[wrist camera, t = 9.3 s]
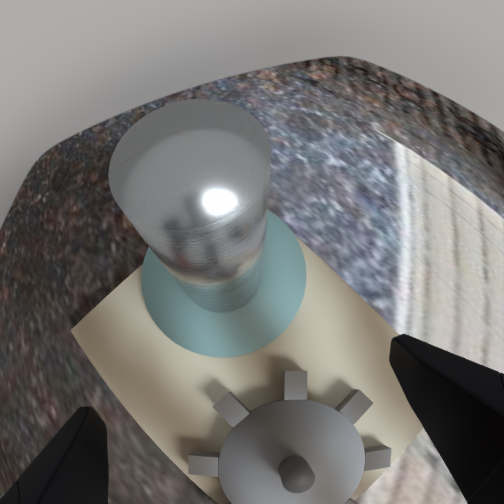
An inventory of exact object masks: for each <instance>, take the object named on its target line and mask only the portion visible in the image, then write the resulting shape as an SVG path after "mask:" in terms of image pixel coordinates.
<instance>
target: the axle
mask: <svg viewBox="0 0 504 504" xmlns="http://www.w3.org/2000/svg"><path fill="white" fill-rule="evenodd" d="M270 168H271V147H270V141H269V139H268V136H267V133H266V132H265V130H264V128H263V127H262V125H261V124H260V123H259V121H258V120H257V119H255V118H254V117H253V116H252V115H251V114H250V113H248V112H247V111H245V110H244V109H242V108H240V107H238V106H235V105H233V104H230V103H227V102H223V101H218V100H212V99H192V100H184V101H180V102H175V103H172V104H169V105H166V106H163V107H161V108H159V109H156V110H155V111H153V112H151V113H149V114H147V115H146V116H144V117H143V118H141V119H140V120H139V121H138V122H136V123H135V124H134V125H133V126H132V127H131V128H130V129H129V130H128V131H127V132H126V133H125V134H124V136H123V137H122V138H121V140H120V141H119V143H118V144H117V146H116V148H115V150H114V152H113V154H112V157H111V161H110V165H109V175H108V179H109V186H110V190H111V193H112V195H113V197H114V199H115V201H116V203H117V204H118V206H119V207H120V208H121V210H122V211H123V213H124V214H125V215H126V217H127V218H128V219H129V221H130V222H131V223H132V225H133V226H134V227H135V229H136V230H137V231H138V233H139V234H140V235H141V237H142V238H143V239H144V241H145V242H146V243H147V245H148V246H149V247H150V249H151V250H152V251H153V253H154V254H155V255H156V256H157V258H158V259H159V260H160V262H161V263H162V264H163V265H164V267H165V268H166V269H167V270H168V272H169V273H170V274H171V275H172V277H173V278H174V279H175V280H176V282H177V283H178V284H179V285H180V287H181V288H182V289H183V290H184V292H185V293H186V294H187V295H188V296H189V298H190V299H191V300H192V301H193V302H194V303H195V304H196V305H198V306H199V307H201V308H203V309H205V310H207V311H211V312H216V313H227V312H232V311H235V310H238V309H240V308H242V307H243V306H245V305H246V304H248V303H249V302H250V301H251V300H252V299H253V298H254V297H255V295H256V294H257V292H258V290H259V288H260V285H261V282H262V276H263V263H264V250H265V237H266V223H267V210H268V196H269V182H270Z"/></svg>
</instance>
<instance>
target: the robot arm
mask: <svg viewBox="0 0 504 504" xmlns="http://www.w3.org/2000/svg"><path fill="white" fill-rule="evenodd" d="M389 362H390V365H391V367H392V369H393V371H394V373H395V375H396V378H397V380H398V382H399V384H400V386H401V388H402V390H403V392H404V394H405V397H406V399H407V401H408V403H409V404H410V406H411V408H412V410H413V411H414V413H415V414H416V416H417V418H418V419H419V421H420V422H421V424H422V426H423V427H424V429H425V431H426V432H427V434H428V436H429V437H430V439H431V441H432V442H433V444H434V446H435V447H436V449H437V451H438V452H439V454H440V456H441V457H442V459H443V461H444V463H445V464H446V466H447V468H448V469H449V471H450V473H451V475H452V476H453V478H454V480H455V482H456V483H457V485H458V487H459V489H460V491H461V492H462V494H463V496H464V498H465V500H466V501H467V504H504V374H503V373H499V372H498V371H495V370H493V369H490V368H488V367H485V366H483V365H480V364H478V363H475V362H473V361H470V360H468V359H465V358H463V357H460V356H458V355H455V354H453V353H450V352H448V351H445V350H443V349H441V348H438V347H436V346H433V345H431V344H428V343H426V342H423V341H421V340H419V339H416V338H414V337H411V336H409V335H406V334H401V335H398V336H396V337H393V338H392V340H391V344H390V353H389ZM108 479H109V467H108V450H107V429H106V425H105V423H104V421H103V420H102V418H101V417H100V416H99V414H98V413H97V412H96V410H95V409H94V408H93V407H91V406H86V407H80V408H79V409H78V410H77V411H76V412H75V413H74V414H73V415H72V416H71V418H70V419H69V420H68V421H67V422H66V423H65V424H64V426H63V427H62V428H61V429H60V430H59V431H58V433H57V434H56V435H55V436H54V437H53V438H52V439H51V441H50V442H49V443H48V444H47V445H46V446H45V448H44V449H43V450H42V451H41V452H40V453H39V455H38V456H37V457H36V458H35V459H34V460H33V462H32V463H31V464H30V465H29V466H28V468H27V469H26V470H25V471H24V472H23V473H22V475H21V476H20V477H19V478H18V481H16V482H15V483H14V484H13V485H12V487H11V488H10V489H9V490H8V491H7V492H6V493H5V495H4V496H3V497H2V498H1V499H0V504H108Z"/></svg>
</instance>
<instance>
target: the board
mask: <svg viewBox="0 0 504 504" xmlns="http://www.w3.org/2000/svg"><path fill="white" fill-rule="evenodd" d="M70 331H71V332H72V334H73V335H74V337H75V339H76V340H77V342H78V343H79V345H80V346H81V348H82V349H83V351H84V352H85V354H86V355H87V357H88V358H89V360H90V361H91V363H92V364H93V366H94V367H95V369H96V370H97V371H98V373H99V374H100V376H101V377H102V378H103V380H104V381H105V382H106V384H107V385H108V386H109V388H110V389H111V390H112V392H113V393H114V394H115V396H116V397H117V398H118V400H119V401H120V402H121V403H122V405H123V406H124V407H125V408H126V410H127V411H128V412H129V413H130V414H131V416H132V417H133V418H134V419H135V421H136V422H137V423H138V424H139V425H140V426H141V428H142V429H143V430H144V431H145V432H146V433H147V434H148V436H149V437H150V438H151V439H152V440H153V441H154V442H155V443H156V444H157V446H158V447H159V448H160V449H161V450H162V451H163V452H164V453H165V454H166V455H167V456H168V457H169V458H170V459H171V460H172V461H173V462H174V463H175V464H176V465H177V466H178V467H179V468H180V469H181V470H182V471H183V472H184V473H185V474H186V475H187V476H188V477H189V478H190V479H191V480H192V481H193V482H194V483H195V484H196V485H197V486H198V487H199V488H201V489H202V490H203V491H204V492H205V493H206V494H207V495H208V496H209V497H211V498H212V499H213V500H214V501H215V502H216V503H218V504H358V503H356V502H355V500H356V499H357V498H358V497H359V496H360V495H361V494H362V493H363V492H364V491H365V490H367V489H368V488H369V487H370V486H371V485H372V484H373V483H374V482H375V481H376V480H377V479H378V478H379V477H380V476H381V475H382V474H383V473H384V471H385V470H386V469H387V468H388V467H390V465H391V464H392V463H393V462H394V461H395V460H396V459H397V458H398V456H399V455H400V454H401V453H402V452H403V451H404V450H405V448H406V447H407V446H408V445H409V444H410V443H411V441H412V440H413V439H414V438H415V437H416V435H417V434H418V433H419V432H420V431H421V429H422V428H423V426H422V424H421V422H420V421H419V419H418V418H417V416H416V414H415V413H414V411H413V410H412V408H411V406H410V404H409V403H408V401H407V399H406V397H405V394H404V392H403V390H402V388H401V386H400V384H399V382H398V380H397V378H396V375H395V373H394V371H393V369H392V367H391V365H390V362H389V353H390V344H391V340H392V338H393V337H396V336H398V335H399V334H398V333H397V332H396V331H395V330H394V329H393V328H392V327H391V326H390V325H389V324H388V323H387V322H386V321H385V320H384V319H383V318H382V317H381V316H380V315H379V314H378V313H377V312H376V311H375V310H374V309H373V308H372V307H371V306H370V305H369V304H368V303H367V302H365V301H364V300H363V299H362V298H361V297H360V296H359V295H358V294H357V293H356V292H355V291H354V290H353V289H352V288H351V287H350V286H349V285H348V284H347V283H346V282H345V281H344V280H343V279H342V278H340V277H339V276H338V275H337V274H336V273H335V272H334V271H333V270H332V269H331V268H330V267H329V266H328V265H327V264H326V263H325V262H323V261H322V260H321V259H320V258H319V257H318V256H317V255H316V254H315V253H314V252H313V251H312V250H311V249H309V248H308V247H307V246H306V245H305V244H304V243H303V242H302V241H301V240H300V239H299V238H297V237H296V236H295V235H294V234H293V232H292V231H291V230H290V228H289V227H288V226H287V225H286V224H285V223H284V222H283V221H282V220H281V219H280V218H279V217H278V216H276V215H275V214H274V213H272V212H271V211H269V210H267V223H266V237H265V250H264V263H263V276H262V282H261V285H260V288H259V290H258V292H257V294H256V295H255V297H254V298H253V299H252V300H251V301H250V302H249V303H248V304H246V305H245V306H243V307H242V308H240V309H238V310H235V311H232V312H227V313H216V312H211V311H207V310H205V309H203V308H201V307H199V306H198V305H196V304H195V303H194V302H193V301H192V300H191V299H190V298H189V296H188V295H187V294H186V293H185V292H184V290H183V289H182V288H181V287H180V285H179V284H178V283H177V282H176V280H175V279H174V278H173V277H172V275H171V274H170V273H169V272H168V270H167V269H166V268H165V267H164V265H163V264H162V263H161V262H160V260H159V259H158V258H157V256H156V255H155V254H154V253H153V251H152V250H151V249H150V247H148V249H147V252H146V255H145V258H144V262H143V264H142V265H141V266H140V267H139V268H138V269H136V270H135V271H134V272H133V273H132V274H131V275H130V276H129V277H127V278H126V279H125V280H124V281H123V282H122V283H121V284H120V285H119V286H117V287H116V288H115V289H114V290H113V291H112V292H111V293H110V294H109V295H108V296H106V297H105V298H104V299H103V300H102V301H101V302H100V303H99V304H98V305H97V306H96V307H95V308H94V309H92V310H91V311H90V312H89V313H88V314H87V315H86V316H85V317H84V318H83V319H82V320H81V321H80V322H79V323H78V324H77V325H76V326H75V327H74V328H72V329H71V330H70Z"/></svg>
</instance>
